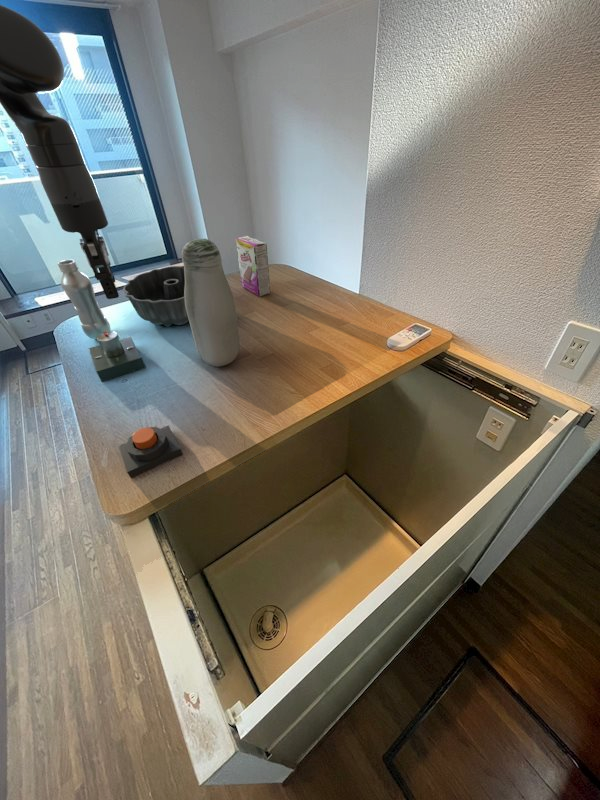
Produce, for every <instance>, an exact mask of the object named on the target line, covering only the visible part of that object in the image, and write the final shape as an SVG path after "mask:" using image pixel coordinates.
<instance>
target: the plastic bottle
mask: <svg viewBox="0 0 600 800" xmlns="http://www.w3.org/2000/svg"><path fill="white" fill-rule="evenodd" d="M57 266H58V268H59V272H60V273H62V276H61V280H60V284H61V289H62V290H63V292H64V293H65V294H66V296H67V297H68V299H69V300H70V302H71V304H72V305H73V307H74V309H75V311H76V313H77V316H78V319H79V321H80V326H81V329H82V332H83V333H84V334H85V336H86V337H88V338H90V339H94V340H95V339H96V340H97V337H98V336H99V335H100V334H102V333H104V331H106V332H111V330H112V329H111V324H110V323H109V321H108V319H107V317H105V315H104V313H103V311H102V309H101V307H100V305H99V302H98V300H97V297H96V294H95V290H94V287H93V283H92V281H91V279H90V278H89V277H88V276H87V275H86V274H85V273H83V272H82V271H80V270H79V269H80V268H79V266H78V264H77V263H76V261H75V259H64V260H59V261H58V262H57Z"/></svg>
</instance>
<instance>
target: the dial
mask: <svg viewBox="0 0 600 800" xmlns="http://www.w3.org/2000/svg"><path fill="white" fill-rule="evenodd" d="M120 339H121V338H120V337H119V334H118V333H117V332H116V331H110V332H106V331H104V333H102V334H100V335H99V336H98V337H97V338H96V340H97V342H98V343H97V344H98V345H100V347H101V349H102V351H103V353H104V355H105V356H106V357H109V358H112V357H117V356H119V355H121V354H122V353H123V352H124V349H123V346H122V344H121V342H120Z"/></svg>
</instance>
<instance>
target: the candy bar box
mask: <svg viewBox="0 0 600 800" xmlns="http://www.w3.org/2000/svg"><path fill="white" fill-rule="evenodd" d="M235 247H236V252H237V259H238V266H239V275H240V282H241V288H243V289H244V290H245V291H246V290H247V291H248V292H250V293H252V294H254V295H255V296H257V297H259V298H262V297H264V296H266V295H270V294H271V285H270V283H271V282H270V271H269V270H270V269H269V258H268V245H267V243H266V242H264V241H262V240H259V239H257V238H254V237H251V236H250V235H244V236H240V237H236V238H235Z"/></svg>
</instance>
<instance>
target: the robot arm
mask: <svg viewBox="0 0 600 800" xmlns="http://www.w3.org/2000/svg"><path fill="white" fill-rule="evenodd" d="M64 76H65V70H64V64H63V61H62V57H61V56H60V54H59V51H58V49H57V48H56V45H54V43H53V42H52V40H51V38H49V37H48V35H47V34H46V33H45V32H44V31H43V30H42V29H41V28H40V27H39V26H38V25H37V24H35V23H34V22H33V21H32V20H30V19H29V18H27V17H26V16H24V15H23V14H21V13H19V12H18V11H15V10H14V9H11V8H10V7H6V6H5V5H3V4H0V105H1V106H2V109H4V111H5V112H6V114H7V115H8V117H9V118H10V120H11V122H12V123H13V124H14V125H15V127H16V128H17V130H18V131H19V132H20V134H21V136H22V138H23V141H24V143H25V145H26V147H27V150H28V151H29V154H30V156H31V159H32V161H33V163H34V165H35V168H36V170H37V174H38V176H39V180H40V182H41V186H42V187H43V190H44V193H45V194H46V196H47V198H48V201H49V203H50V206H51V208H52V210H53V212H54V214H55V217H56V218H57V221H58V223H59V225H60V227H61V229H62V230H63V231H64V232H67V233H73V234H74V233H78V234H79V235H80V236H81V238H79V246H80V248H81V250H82V252H83V254H84V255H85V258H86V261H87V263H88V265H89V267H90V268H91V269H92V272H93V274H94V279H96V281H99V283H100V285H101V288H102V290H103V293H104V296H105V298H106V299H107V300H113V299H118V298H119V297H120V294H119V292H118V289H117V286H116V284H115V283H116V278H115V275H114V272H113V270H112V267H111V261H110V258H109V252H108V248H107V244H106V240H105V238H104V236H103V235H100V233H99V230H102V229H105V228H106V227H108V225H109V220H108V218H107V217H108V216H107V215H106V212H105V210H104V206H103V204H102V201H101V198H100V196H99V193H98V190H97V187H96V185H95V182H94V179H93V177H92V175H91V173H90V170H89V169H88V167H87V165H86V161H85V159H84V156H83V153H82V150H81V148H80V145H79V142H78V140H77V136H76V135H75V132H74V129H73V128H72V125H71V124H70V123H69V122H68V120H66V119H65V118H63V117H60V116H58V115H55V114H52V113H50V112H48V110H47V109H46V107H45V105H44V104H43V103H42V102H41V100H40V98H39V97H38V95H37V94H45V93H46V94H47V93H52V92H55V91H57V90H58V89H59V88H60V87H61V86H62V84H63V81H64Z"/></svg>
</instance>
